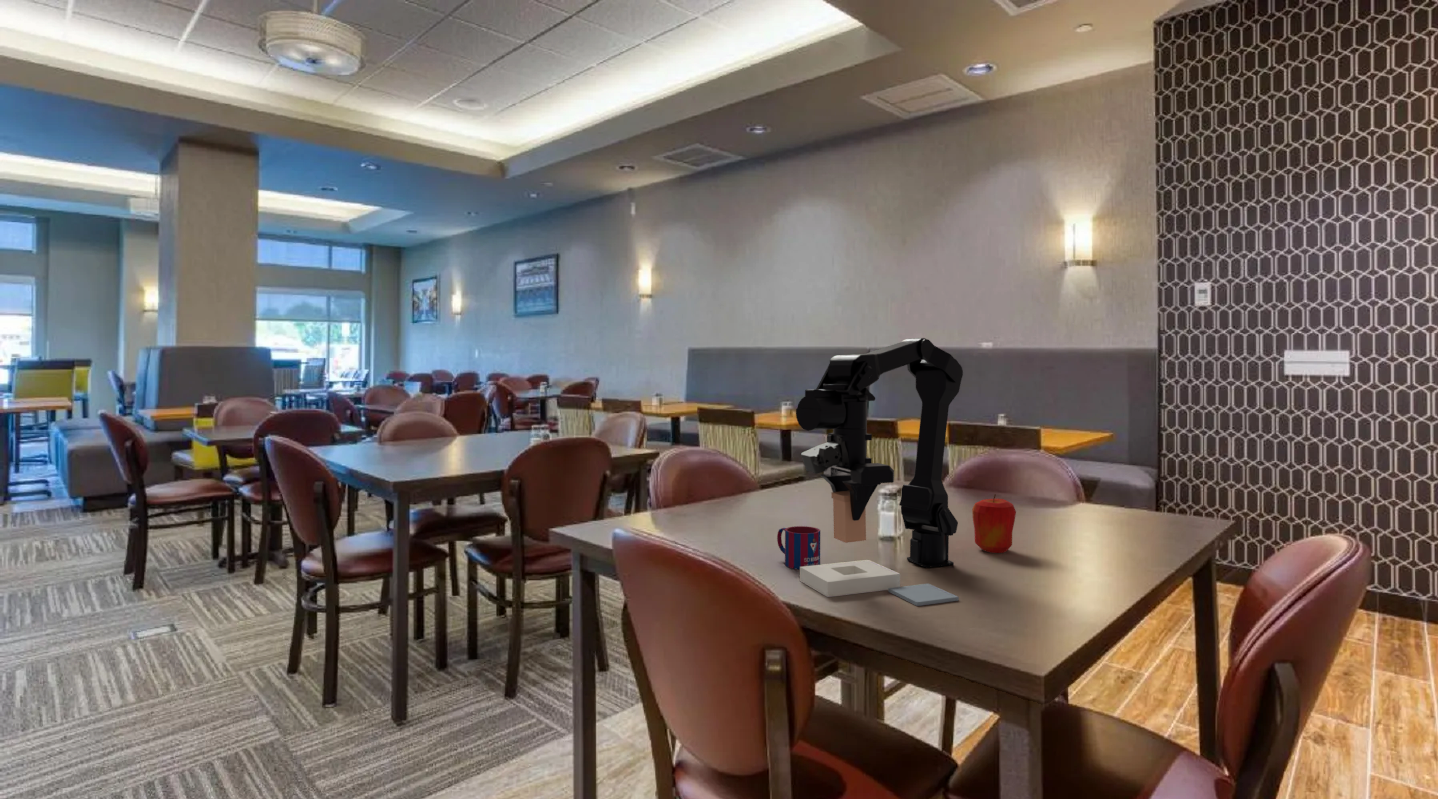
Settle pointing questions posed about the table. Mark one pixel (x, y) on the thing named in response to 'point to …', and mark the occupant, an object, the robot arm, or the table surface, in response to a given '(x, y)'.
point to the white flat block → (849, 577)
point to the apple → (993, 524)
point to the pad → (923, 594)
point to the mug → (800, 546)
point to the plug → (847, 519)
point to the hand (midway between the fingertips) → (849, 517)
